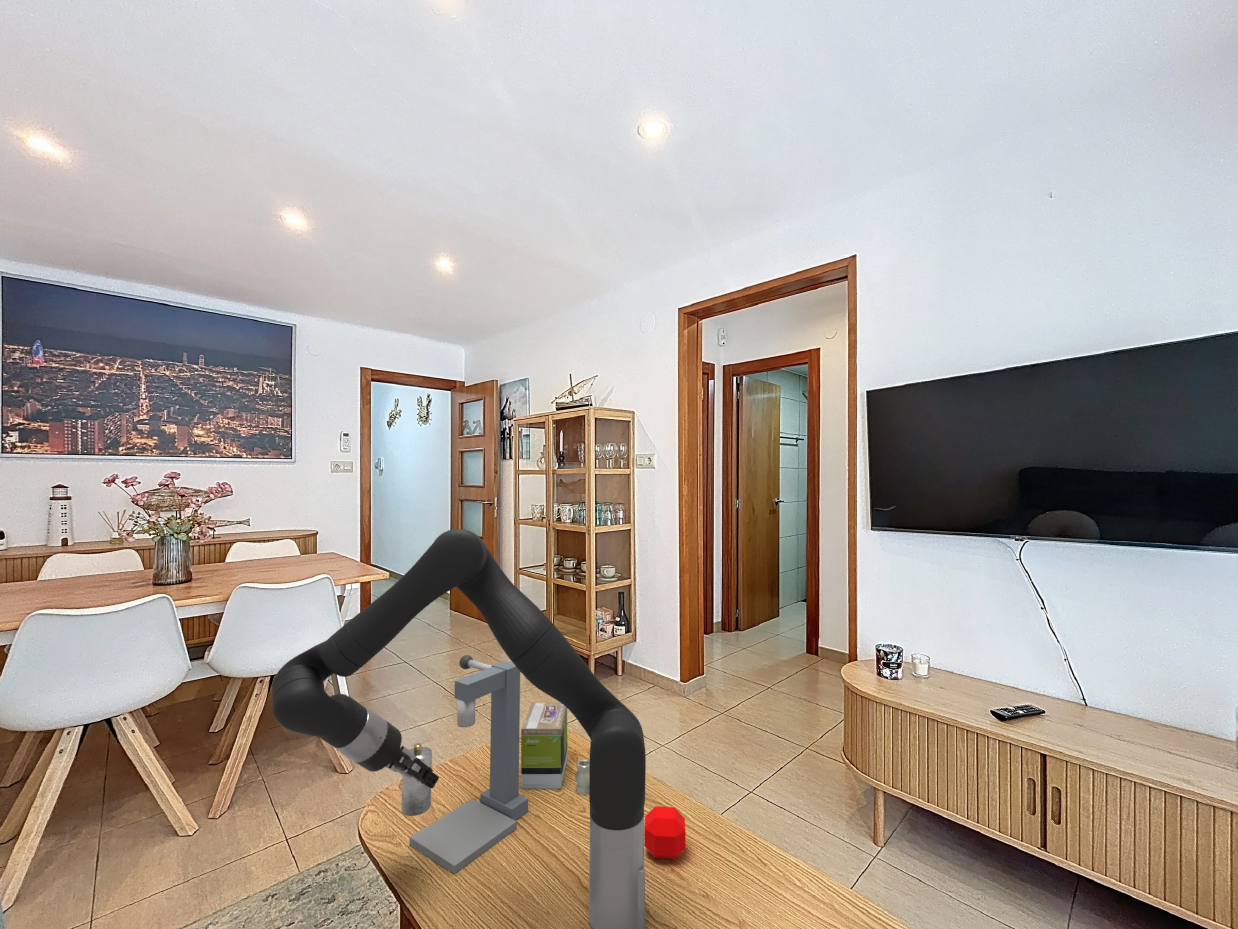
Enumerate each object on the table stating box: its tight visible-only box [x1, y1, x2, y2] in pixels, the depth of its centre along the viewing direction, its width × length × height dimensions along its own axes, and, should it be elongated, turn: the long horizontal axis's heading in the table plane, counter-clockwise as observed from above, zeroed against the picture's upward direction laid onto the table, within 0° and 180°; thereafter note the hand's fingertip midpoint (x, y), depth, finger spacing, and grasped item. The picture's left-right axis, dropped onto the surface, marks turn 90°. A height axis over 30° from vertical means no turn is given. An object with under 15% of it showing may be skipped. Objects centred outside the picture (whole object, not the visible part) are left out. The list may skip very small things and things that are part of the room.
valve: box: [574, 758, 590, 796], centre depth 125 cm, size 7×7×12 cm
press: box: [409, 654, 529, 875], centre depth 115 cm, size 22×22×32 cm
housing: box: [401, 742, 433, 817], centre depth 101 cm, size 5×5×12 cm
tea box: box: [520, 702, 569, 790], centre depth 134 cm, size 15×10×15 cm
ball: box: [644, 805, 687, 860], centre depth 106 cm, size 8×8×8 cm
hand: (425, 777), depth 102 cm, fingers closed on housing, 5 cm apart
